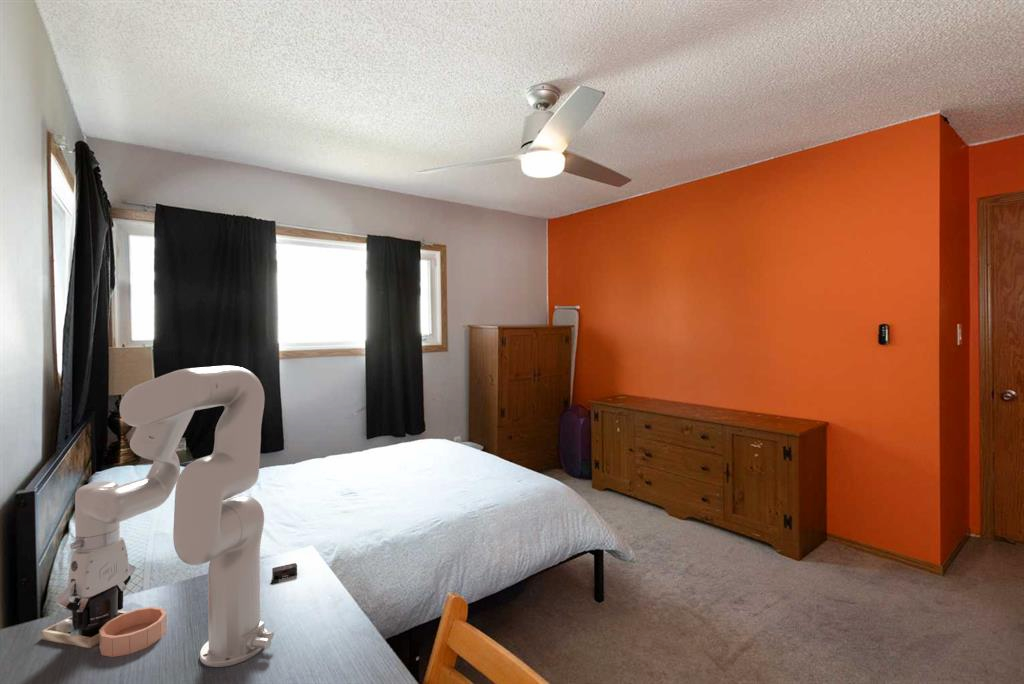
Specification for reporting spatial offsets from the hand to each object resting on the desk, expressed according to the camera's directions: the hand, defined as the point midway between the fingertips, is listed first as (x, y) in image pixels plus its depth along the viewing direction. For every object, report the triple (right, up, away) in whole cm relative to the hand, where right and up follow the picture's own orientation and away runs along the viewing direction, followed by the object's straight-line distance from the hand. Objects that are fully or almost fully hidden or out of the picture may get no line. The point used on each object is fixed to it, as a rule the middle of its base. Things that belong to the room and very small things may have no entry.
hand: (98, 617), depth 108 cm
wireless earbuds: (+31, -3, +23) cm, 38 cm away
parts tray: (-2, -3, 0) cm, 4 cm away
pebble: (-7, -3, -1) cm, 8 cm away
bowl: (+10, -3, -3) cm, 11 cm away
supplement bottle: (0, -3, 0) cm, 3 cm away
